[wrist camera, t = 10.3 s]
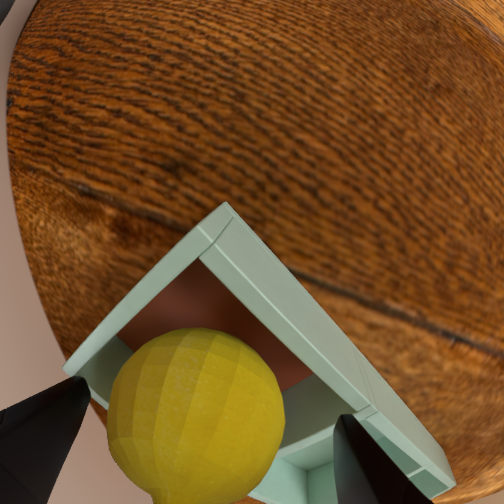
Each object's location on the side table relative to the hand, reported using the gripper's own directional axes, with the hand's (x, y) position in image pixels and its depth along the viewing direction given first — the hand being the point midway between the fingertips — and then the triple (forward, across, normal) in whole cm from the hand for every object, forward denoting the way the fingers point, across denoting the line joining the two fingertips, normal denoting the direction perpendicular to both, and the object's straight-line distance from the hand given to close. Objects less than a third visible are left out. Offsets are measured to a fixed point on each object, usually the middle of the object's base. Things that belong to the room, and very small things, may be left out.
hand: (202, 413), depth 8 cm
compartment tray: (+4, -6, +6) cm, 9 cm away
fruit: (+4, 0, 0) cm, 4 cm away
